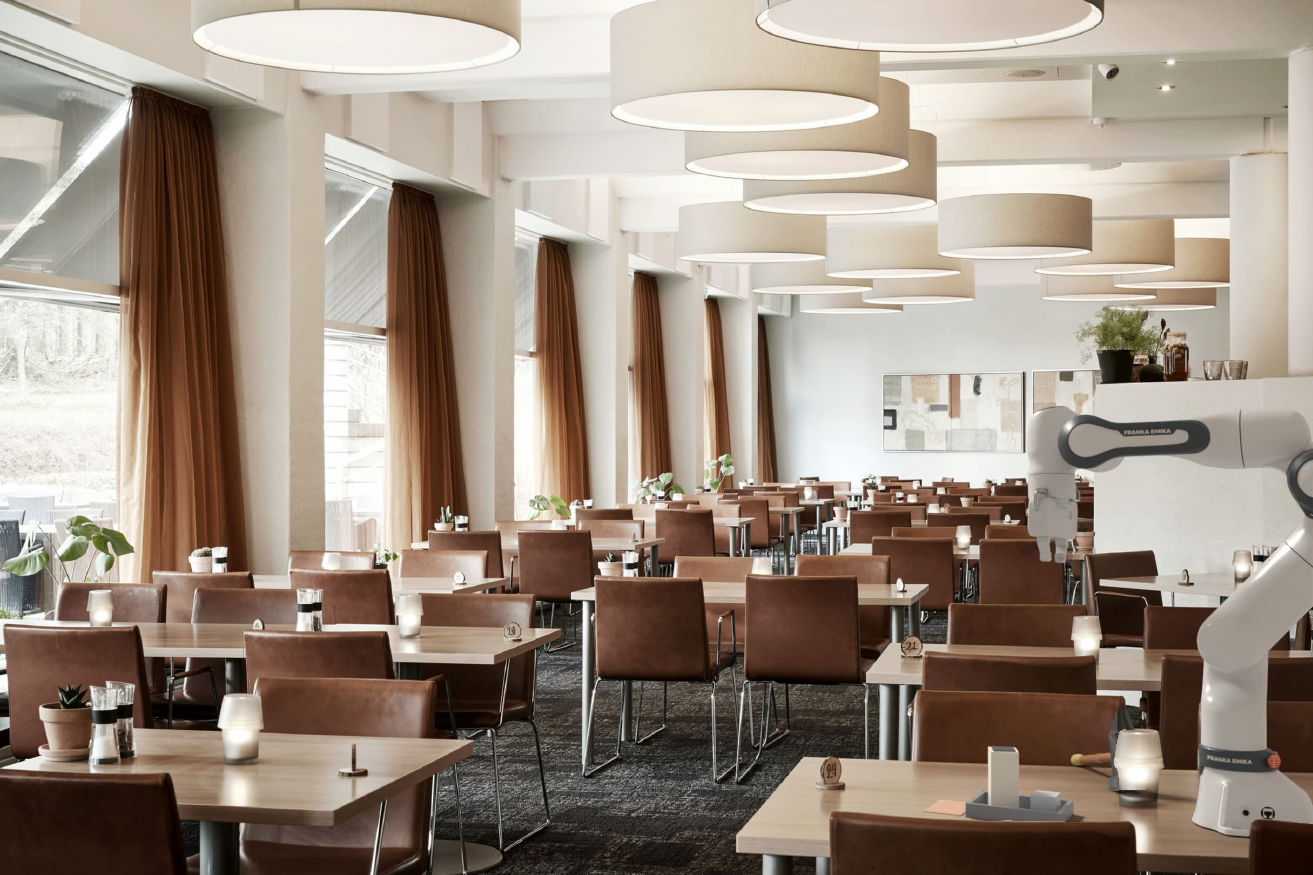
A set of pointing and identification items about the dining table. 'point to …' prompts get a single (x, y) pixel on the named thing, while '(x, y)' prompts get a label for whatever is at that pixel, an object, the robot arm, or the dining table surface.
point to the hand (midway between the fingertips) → (1053, 562)
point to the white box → (1003, 776)
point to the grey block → (1045, 801)
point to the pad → (948, 807)
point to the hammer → (1119, 724)
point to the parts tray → (1015, 810)
